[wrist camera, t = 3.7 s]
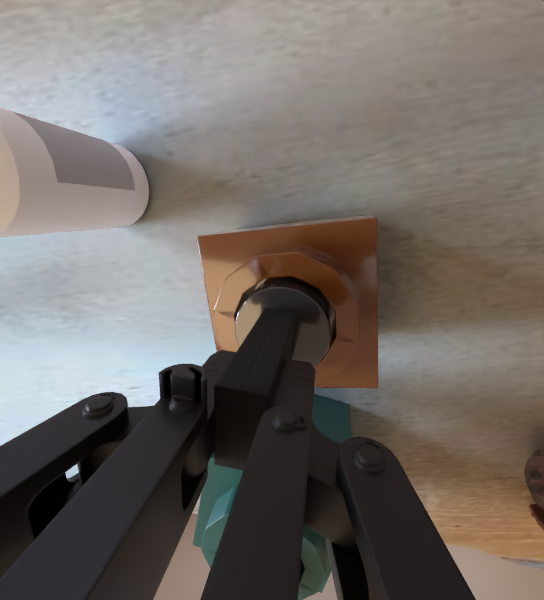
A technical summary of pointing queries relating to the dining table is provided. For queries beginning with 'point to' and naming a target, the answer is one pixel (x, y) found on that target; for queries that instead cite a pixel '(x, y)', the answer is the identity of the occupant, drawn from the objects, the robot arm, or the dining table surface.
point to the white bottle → (64, 180)
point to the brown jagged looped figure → (536, 484)
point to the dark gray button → (295, 298)
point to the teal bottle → (223, 487)
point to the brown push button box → (313, 270)
